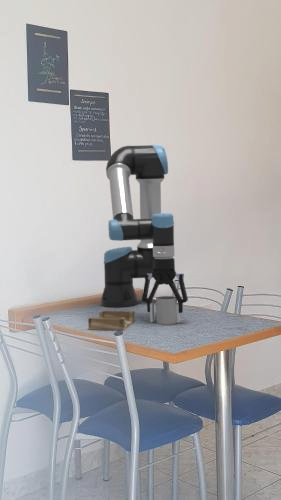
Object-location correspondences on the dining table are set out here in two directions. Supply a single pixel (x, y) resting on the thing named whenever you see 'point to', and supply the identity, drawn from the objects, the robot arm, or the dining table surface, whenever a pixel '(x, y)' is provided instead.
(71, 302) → the dining table surface
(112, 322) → the caddy
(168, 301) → the cup
